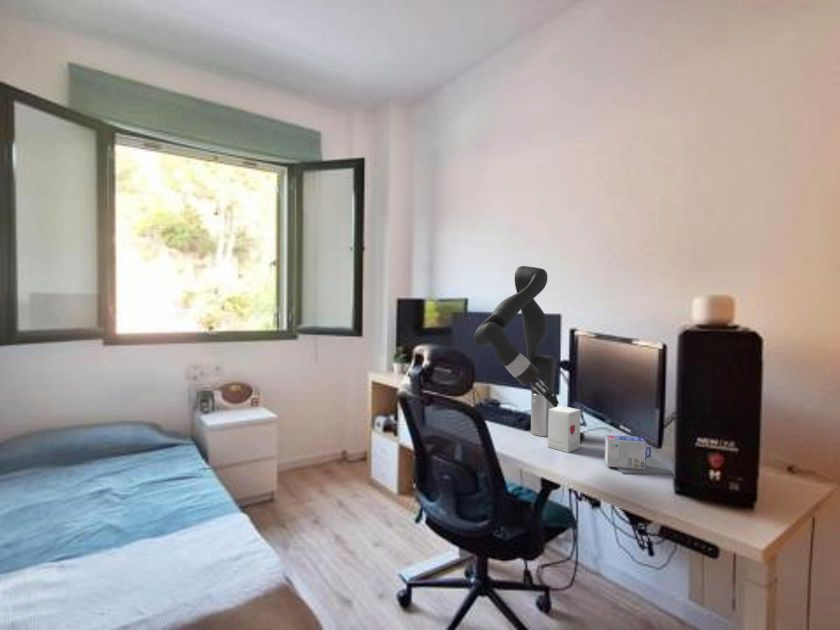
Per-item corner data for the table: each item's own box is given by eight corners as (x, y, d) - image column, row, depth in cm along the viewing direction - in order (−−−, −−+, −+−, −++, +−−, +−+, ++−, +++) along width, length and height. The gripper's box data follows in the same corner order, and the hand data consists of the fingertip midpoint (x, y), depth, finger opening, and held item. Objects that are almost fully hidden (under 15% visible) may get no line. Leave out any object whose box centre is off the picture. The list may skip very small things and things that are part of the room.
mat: (603, 456, 165) (604, 455, 165) (651, 457, 164) (651, 455, 164) (622, 474, 149) (622, 472, 149) (675, 474, 149) (675, 472, 148)
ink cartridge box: (604, 460, 159) (649, 464, 155) (606, 467, 154) (653, 471, 150) (605, 433, 158) (650, 436, 154) (607, 439, 153) (654, 442, 149)
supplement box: (568, 453, 169) (568, 413, 168) (547, 447, 175) (547, 408, 175) (580, 447, 175) (581, 409, 174) (559, 442, 181) (560, 405, 181)
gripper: (533, 363, 149) (570, 401, 150) (524, 358, 162) (558, 392, 163) (517, 379, 149) (554, 416, 150) (509, 372, 163) (543, 407, 163)
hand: (556, 404), depth 156 cm, fingers closed
